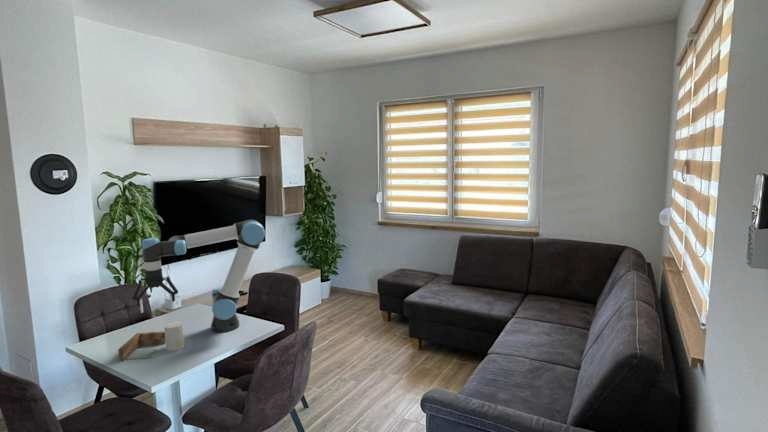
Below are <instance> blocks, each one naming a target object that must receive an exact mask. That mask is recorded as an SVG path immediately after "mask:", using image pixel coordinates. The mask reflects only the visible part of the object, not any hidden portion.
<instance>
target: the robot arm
mask: <svg viewBox="0 0 768 432" xmlns="http://www.w3.org/2000/svg"><path fill="white" fill-rule="evenodd" d="M265 236H266V231H265V227H264V226H263V224H261V223H260V222H259V221H258V220H256V219H247V220H244V221H240V222H235V223H234V224H232V225H229V226H224V227H219V228H212V229H208V230H205V231H204V230H203V231H198V232H194V233H187V234H184V235H172V236H171V237H170V238H169V239H168V240H164V241H160V239H159V238H158V237H150V238H149V237H148V238H145V239H143V240H142V241H141V244H142V245H141V246H142V247H141V248H142V249H141V250H142V257H143V268H144V270H145V271H144V277H145V278H144V279H139V280H138V285H137V288H136V289H135V292H134V293H133V296H132V299H131V300H136V303H137V307H139V309H140V313H141V314H142V313H144V306H143V298H142V297H143V295H145V293H146V292H147V290H148V289H150V288H151V289H153V288H159V287H160V288H162V289H164V290H165V291H166V292H167V293H168V294H169V298H170V307H171V309H172V310H173V309H174V302H175V301H176V295H178V293H179V290H178V289H177V287H176V286H175V285H174V282H172V280H171V277H170V276H169V275H168V276H166V277H165V276H164V277H163V270H162V260H161V257H168V256H169V257H170V256H171V257H172V256H180V255H186V253H187V249H191V248H196V247H202V246H205V245H212V244H216V243H222V242H227V241H231V240H237V241H236V243H237V245H238V246H237V249H236V252H235V254H234V257H233V259H232V263H231V265H230V268H229V270H228V272H227V275H226V278H225V280H224V283H223V285H222V286H221V287H220V286H219V287H217V288H213V289H212V290H211V296H212V297H211V298H212V308H211V311H212V314H213V317H212V320H211V324H210V330H211V331H212V332H215V333H226V332H230V331H234V330H236V329H238V328H239V327H240V320H239V317H238V315H237V309H238V308H237V305H238V303H239V300H240V298H241V295H240V293H239V291H240V289H241V287H242V284H243V281H244V279H245V277H246V273H247V271H248V268H249V267H250V263H251V261H252V258H253V255H254V253H255V251H257V250H259V248H260V245H261V243H262V242H263V240H264V239H265ZM164 281H165V282H167V284H168V285H169V287H170V288H171V289H170V288H169V287H168V286H167V285H166V284H165V283H164ZM144 284H146V285H145V287H144V289H143V290H142V291H141V293H140V294H139V295H138V293H139V291H140V289H141V287H142V285H144Z"/></svg>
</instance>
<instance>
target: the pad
mask: <svg viewBox="0 0 768 432" xmlns="http://www.w3.org/2000/svg"><path fill="white" fill-rule="evenodd" d="M157 350H158V348H148V349H147V348H145V349H136V350H135V351H134V352H133V353H132V354H131V355H130V356H129V357H128V358H127V359H126V360H141V359H149V358H150V357H151V356H152V355H153V354H154V353H155V352H156V351H157Z"/></svg>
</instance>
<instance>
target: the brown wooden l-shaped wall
mask: <svg viewBox="0 0 768 432" xmlns="http://www.w3.org/2000/svg"><path fill="white" fill-rule="evenodd" d="M162 344H164V345H166V340H165V330H163V331H145V332H144V331H143V332H136V333H135V334H134V335H133V336H132V337H131V338H130V339H128V340H127V341H126V342H125V343H124V344H123V345H121V346H120V347H119V348H118V350H117V351H118V359H119V361H118V362H125V361H126V360H127V358H128V357H129V356H130V355H131V354H132V353H133V352H134V351H135V350H138V348H139V347H140V346H148V345H151V346H152V345H162Z"/></svg>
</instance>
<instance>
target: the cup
mask: <svg viewBox="0 0 768 432" xmlns="http://www.w3.org/2000/svg"><path fill="white" fill-rule="evenodd" d="M164 331H165V340H166V343H165V349H166V351H168V352H174V351H179V350H181V349H183V348H184V347H185V341H184V327H183V322H181V321H172V322H168V323H165V325H164Z"/></svg>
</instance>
